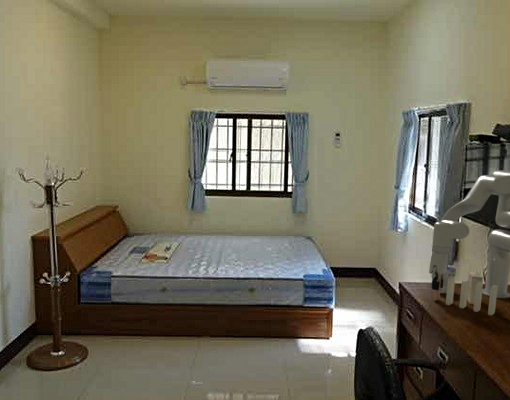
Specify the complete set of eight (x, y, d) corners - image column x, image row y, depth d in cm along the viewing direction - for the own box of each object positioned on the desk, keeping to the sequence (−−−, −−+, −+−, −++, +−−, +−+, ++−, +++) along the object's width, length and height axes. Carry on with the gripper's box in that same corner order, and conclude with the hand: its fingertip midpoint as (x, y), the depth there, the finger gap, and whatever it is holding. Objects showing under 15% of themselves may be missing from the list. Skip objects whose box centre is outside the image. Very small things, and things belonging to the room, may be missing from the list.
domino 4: (476, 308, 228) (479, 282, 227) (480, 309, 227) (483, 283, 226) (473, 310, 225) (476, 284, 223) (477, 311, 224) (479, 284, 222)
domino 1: (436, 297, 239) (438, 271, 238) (439, 297, 238) (441, 272, 237) (432, 299, 236) (434, 273, 235) (436, 299, 235) (438, 274, 234)
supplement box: (480, 305, 233) (483, 277, 231) (469, 304, 234) (472, 276, 232) (476, 299, 241) (479, 272, 239) (465, 298, 242) (468, 271, 240)
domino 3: (462, 305, 232) (465, 279, 230) (466, 306, 231) (468, 280, 229) (459, 307, 228) (461, 281, 227) (462, 308, 227) (465, 281, 226)
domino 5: (490, 312, 224) (493, 285, 223) (494, 313, 223) (497, 286, 222) (487, 314, 221) (490, 287, 219) (491, 315, 220) (494, 288, 218)
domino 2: (449, 302, 236) (451, 276, 234) (452, 303, 235) (455, 277, 233) (445, 304, 232) (448, 278, 231) (449, 305, 231) (451, 279, 230)
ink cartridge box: (450, 290, 254) (453, 261, 252) (454, 294, 249) (457, 264, 247) (430, 289, 254) (432, 260, 252) (433, 293, 249) (436, 263, 247)
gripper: (439, 245, 243) (435, 283, 245) (425, 250, 230) (421, 290, 233) (455, 248, 238) (451, 286, 241) (442, 253, 225) (438, 294, 228)
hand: (437, 288), depth 237 cm, fingers closed on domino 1, 4 cm apart
